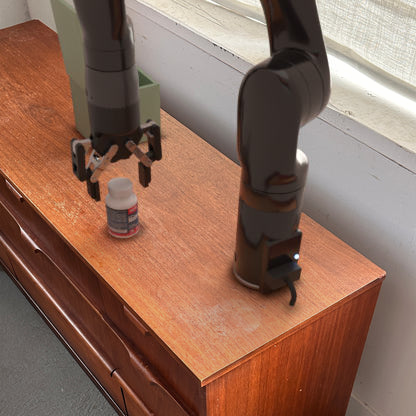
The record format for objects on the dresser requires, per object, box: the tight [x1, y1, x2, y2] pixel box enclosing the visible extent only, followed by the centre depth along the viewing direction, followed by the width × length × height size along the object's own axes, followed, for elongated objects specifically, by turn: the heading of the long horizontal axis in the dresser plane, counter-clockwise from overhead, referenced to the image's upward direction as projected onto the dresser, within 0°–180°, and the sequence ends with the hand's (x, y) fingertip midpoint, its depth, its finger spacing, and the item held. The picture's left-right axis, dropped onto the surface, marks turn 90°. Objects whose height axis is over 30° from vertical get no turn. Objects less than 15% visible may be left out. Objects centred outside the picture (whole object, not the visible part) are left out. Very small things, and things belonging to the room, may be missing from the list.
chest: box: [68, 64, 162, 144], centre depth 124 cm, size 14×12×11 cm
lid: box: [49, 0, 85, 91], centre depth 112 cm, size 14×12×1 cm
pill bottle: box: [104, 176, 140, 239], centre depth 103 cm, size 5×5×9 cm
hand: (120, 191), depth 102 cm, fingers open, 8 cm apart
